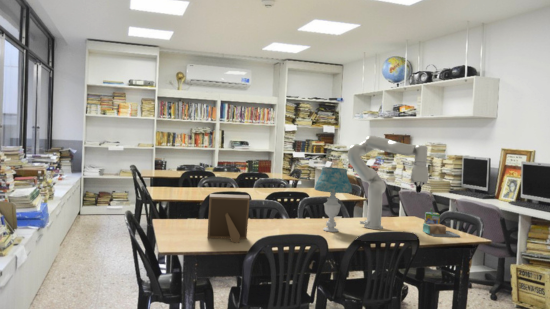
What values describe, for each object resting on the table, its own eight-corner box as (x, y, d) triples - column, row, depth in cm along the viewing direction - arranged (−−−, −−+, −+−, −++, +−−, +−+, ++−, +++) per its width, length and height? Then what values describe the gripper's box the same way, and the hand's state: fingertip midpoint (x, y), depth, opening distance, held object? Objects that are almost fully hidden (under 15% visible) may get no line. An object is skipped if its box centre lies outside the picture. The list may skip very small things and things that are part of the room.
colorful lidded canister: (439, 231, 316) (440, 209, 315) (425, 230, 318) (426, 208, 317) (437, 229, 325) (438, 208, 325) (423, 227, 327) (425, 206, 326)
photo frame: (207, 236, 263) (209, 192, 262) (245, 237, 267) (248, 193, 265) (207, 242, 249) (210, 196, 247) (248, 243, 252) (250, 197, 251)
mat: (433, 236, 298) (433, 234, 298) (422, 231, 314) (423, 229, 314) (460, 237, 300) (460, 235, 300) (448, 232, 315) (448, 230, 315)
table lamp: (355, 230, 303) (359, 169, 301) (339, 236, 283) (343, 170, 281) (322, 225, 316) (326, 166, 314) (305, 230, 296) (309, 167, 294)
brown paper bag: (428, 225, 301) (446, 226, 302) (423, 223, 309) (440, 224, 310) (428, 233, 301) (445, 234, 303) (422, 230, 309) (440, 231, 311)
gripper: (411, 164, 299) (409, 192, 300) (433, 165, 301) (431, 193, 301) (407, 163, 307) (405, 191, 307) (429, 164, 308) (426, 192, 309)
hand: (418, 192), depth 304 cm, fingers closed
